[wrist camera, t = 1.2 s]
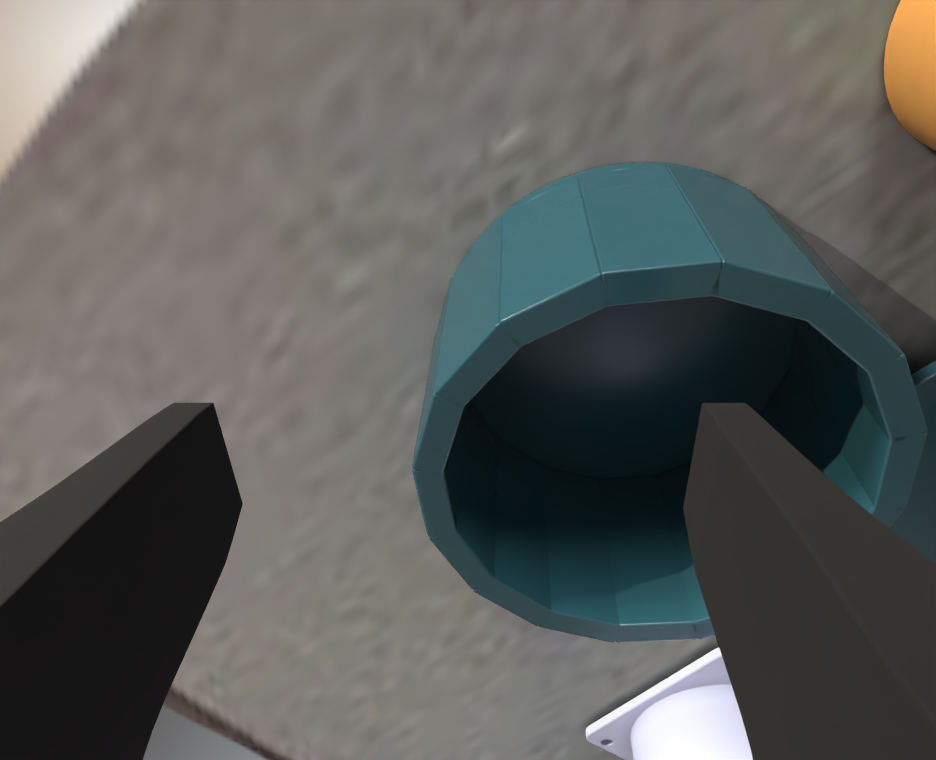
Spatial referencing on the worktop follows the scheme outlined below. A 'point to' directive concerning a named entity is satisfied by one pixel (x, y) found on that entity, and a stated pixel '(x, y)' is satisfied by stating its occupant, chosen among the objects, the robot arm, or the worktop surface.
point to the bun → (913, 68)
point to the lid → (923, 475)
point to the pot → (638, 391)
